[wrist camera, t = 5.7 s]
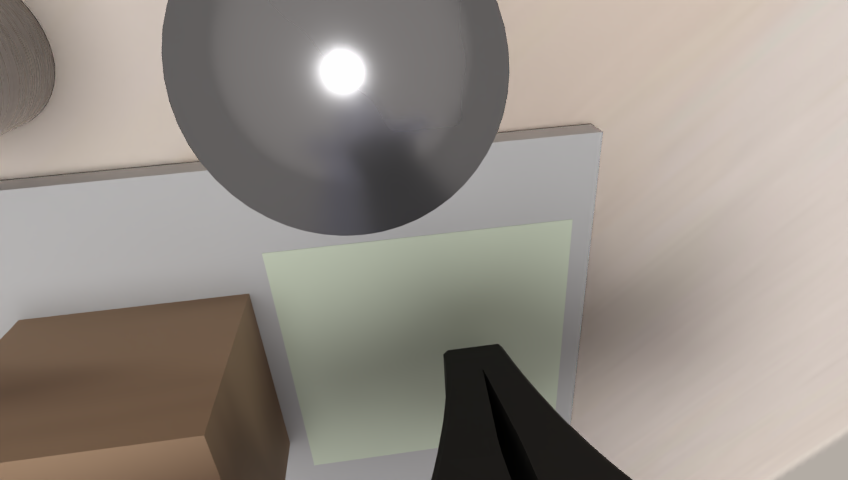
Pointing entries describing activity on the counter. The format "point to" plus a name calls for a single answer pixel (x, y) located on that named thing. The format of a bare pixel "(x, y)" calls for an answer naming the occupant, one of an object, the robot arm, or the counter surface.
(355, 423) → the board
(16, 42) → the metal peg
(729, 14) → the counter surface
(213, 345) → the walnut block
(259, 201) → the metal peg
